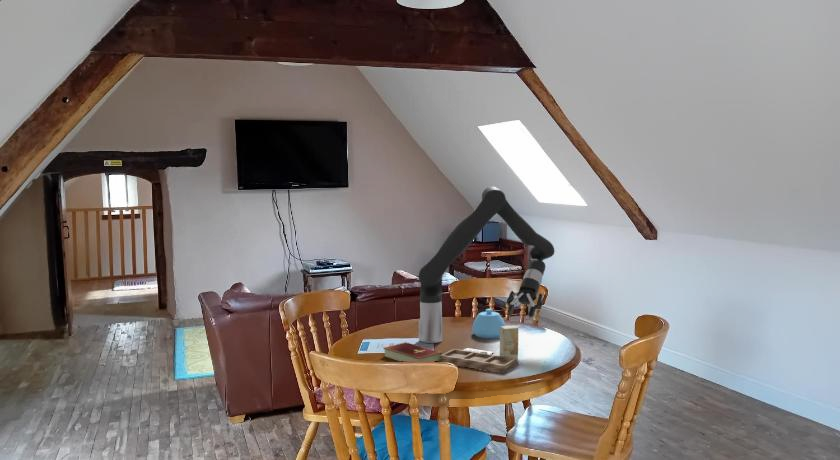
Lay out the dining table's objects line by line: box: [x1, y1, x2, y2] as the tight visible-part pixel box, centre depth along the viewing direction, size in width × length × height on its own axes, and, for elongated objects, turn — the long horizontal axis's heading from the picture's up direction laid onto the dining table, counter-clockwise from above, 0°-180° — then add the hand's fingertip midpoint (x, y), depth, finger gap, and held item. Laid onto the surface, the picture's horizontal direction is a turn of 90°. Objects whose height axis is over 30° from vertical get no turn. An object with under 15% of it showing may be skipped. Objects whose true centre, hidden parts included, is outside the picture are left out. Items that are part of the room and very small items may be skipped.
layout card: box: [463, 347, 494, 355], centre depth 254 cm, size 12×7×1 cm, turn 57°
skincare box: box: [499, 325, 519, 359], centre depth 246 cm, size 6×4×12 cm
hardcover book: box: [382, 341, 443, 362], centre depth 248 cm, size 12×21×4 cm, turn 42°
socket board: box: [438, 348, 520, 375], centre depth 239 cm, size 27×13×3 cm, turn 57°
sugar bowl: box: [471, 308, 507, 339], centre depth 282 cm, size 15×15×12 cm
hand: (519, 315), depth 254 cm, fingers open, 8 cm apart
